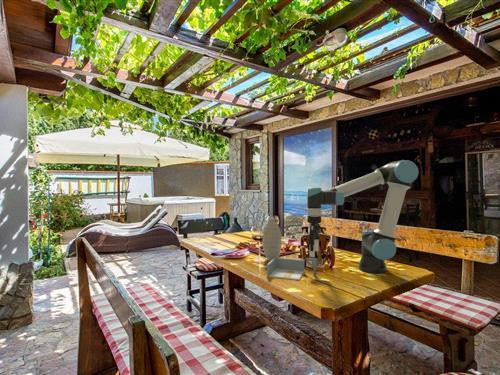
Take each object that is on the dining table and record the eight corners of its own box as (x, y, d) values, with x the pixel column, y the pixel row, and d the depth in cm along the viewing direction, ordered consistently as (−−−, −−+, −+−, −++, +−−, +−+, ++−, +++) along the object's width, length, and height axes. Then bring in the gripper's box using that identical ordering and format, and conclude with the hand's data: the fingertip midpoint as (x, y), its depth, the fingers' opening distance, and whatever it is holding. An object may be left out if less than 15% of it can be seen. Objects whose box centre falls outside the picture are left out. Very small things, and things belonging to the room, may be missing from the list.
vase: (277, 256, 207) (276, 216, 206) (285, 261, 195) (284, 218, 194) (260, 258, 203) (259, 217, 202) (267, 263, 191) (266, 219, 190)
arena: (304, 271, 173) (304, 259, 172) (299, 280, 159) (298, 267, 159) (274, 268, 179) (274, 257, 179) (267, 276, 165) (266, 264, 165)
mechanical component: (324, 277, 162) (324, 259, 162) (305, 276, 164) (305, 258, 164) (324, 275, 165) (324, 258, 165) (305, 275, 167) (305, 257, 167)
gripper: (311, 212, 176) (311, 248, 177) (303, 218, 153) (302, 258, 154) (324, 213, 174) (324, 249, 174) (317, 218, 150) (317, 260, 151)
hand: (314, 253), depth 164 cm, fingers open, 13 cm apart
